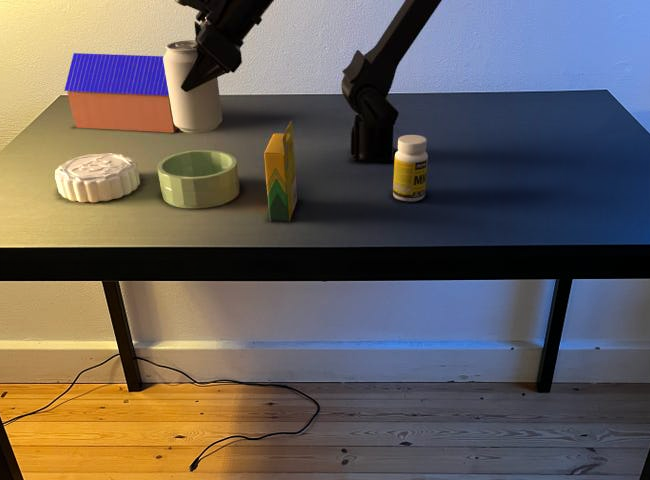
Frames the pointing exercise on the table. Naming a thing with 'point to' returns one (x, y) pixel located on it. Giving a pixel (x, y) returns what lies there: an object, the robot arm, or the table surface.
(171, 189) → the pot
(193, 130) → the can
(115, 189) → the mooncake
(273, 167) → the crayon box
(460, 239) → the table surface
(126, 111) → the house
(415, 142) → the supplement bottle
